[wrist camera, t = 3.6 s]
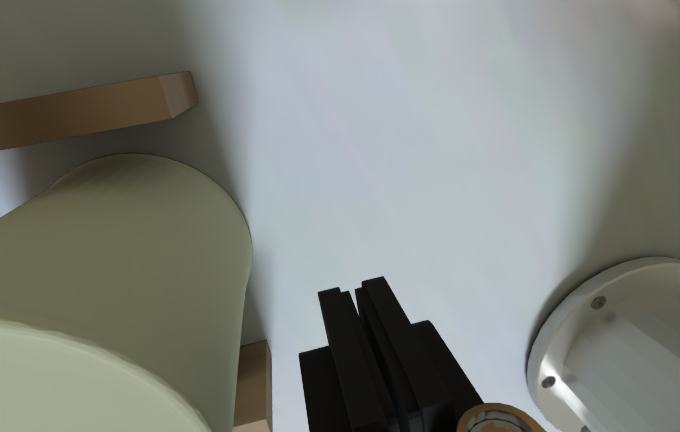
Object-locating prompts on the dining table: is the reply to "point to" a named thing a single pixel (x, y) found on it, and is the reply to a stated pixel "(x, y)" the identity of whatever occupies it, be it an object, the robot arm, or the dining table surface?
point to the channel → (118, 112)
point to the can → (122, 301)
